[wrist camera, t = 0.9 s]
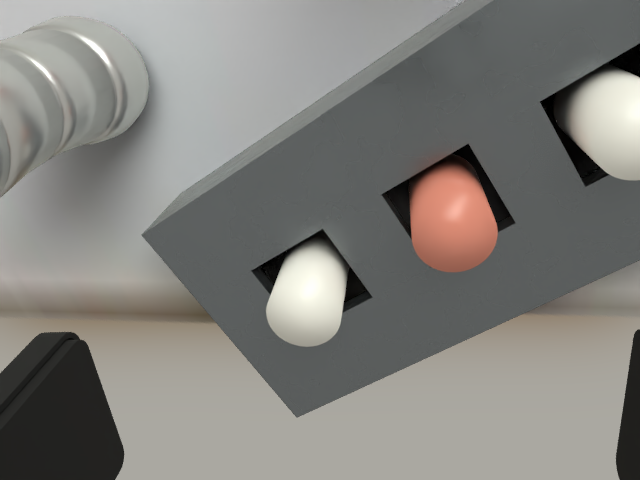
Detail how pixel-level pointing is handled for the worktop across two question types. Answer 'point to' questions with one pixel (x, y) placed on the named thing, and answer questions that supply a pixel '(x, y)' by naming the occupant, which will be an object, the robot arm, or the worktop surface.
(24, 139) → the plastic bottle
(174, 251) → the panel
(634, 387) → the robot arm
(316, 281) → the cream plug
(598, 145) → the cream plug
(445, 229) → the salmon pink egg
